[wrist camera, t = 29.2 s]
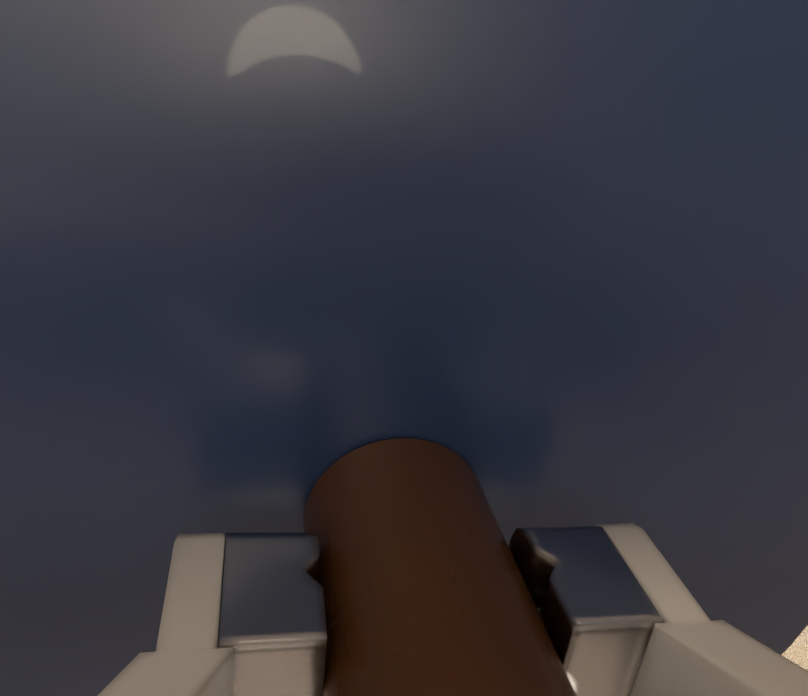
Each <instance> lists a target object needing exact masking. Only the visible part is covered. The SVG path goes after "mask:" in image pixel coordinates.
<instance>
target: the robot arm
mask: <svg viewBox="0 0 808 696" xmlns="http://www.w3.org/2000/svg"><path fill="white" fill-rule="evenodd" d="M509 549H510V551H511V553H512V555H513V557H514V560H515V562H516V564H517V566H518V568H519V571H520V573H521V575H522V577H523V579H524V582H525V584H526V586H527V588H528V590H529V593H530V595H531V597H532V599H533V601H534V604H535V606H536V608H537V610H538V612H539V615H540V617H541V619H542V621H543V623H544V625H545V628H546V630H547V632H548V634H549V636H550V639H551V641H552V643H553V645H554V647H555V650H556V652H557V654H558V656H559V658H560V661H561V663H562V665H563V667H564V669H565V672H566V674H567V676H568V678H569V680H570V683H571V685H572V687H573V689H574V691H575V694H576V696H808V671H807V670H805V669H803V668H802V667H800V666H798V665H797V664H795V663H793V662H792V661H790V660H788V659H787V658H785V657H783V656H782V655H780V654H778V653H777V652H775V651H773V650H772V649H770V648H768V647H767V646H765V645H763V644H762V643H760V642H758V641H757V640H755V639H754V638H752V637H750V636H749V635H747V634H745V633H744V632H742V631H740V630H739V629H737V628H735V627H734V626H732V625H730V624H729V623H727V622H725V621H724V620H716V621H711V620H710V619H709V617H708V616H707V615H706V613H705V612H704V611H703V609H702V608H701V607H700V605H699V604H698V603H697V601H696V600H695V599H694V597H693V596H692V595H691V593H690V592H689V590H688V589H687V588H686V586H685V585H684V584H683V582H682V581H681V580H680V578H679V577H678V576H677V574H676V573H675V572H674V570H673V569H672V568H671V566H670V565H669V563H668V562H667V561H666V559H665V558H664V557H663V555H662V554H661V553H660V551H659V550H658V549H657V547H656V546H655V545H654V543H653V542H652V541H651V539H650V538H649V536H648V535H647V534H646V532H645V531H644V530H643V529H642V528H641V527H639V526H638V525H636V524H634V523H618V524H598V525H594V526H569V527H536V528H516V530H515V531H514V533H513V535H512V537H511V539H510V543H509ZM318 566H319V548H318V539H317V535H316V533H227V535H225V534H223V533H190V534H178V536H177V538H176V540H175V542H174V547H173V553H172V559H171V565H170V570H169V576H168V582H167V588H166V594H165V600H164V605H163V611H162V617H161V623H160V629H159V635H158V640H157V646H156V652H142V653H139V654H138V655H137V656H136V657H135V658H134V659H133V660H132V661H131V662H130V663H129V664H128V665H127V666H126V667H125V668H124V669H123V670H122V671H121V672H120V673H119V674H118V675H117V676H116V677H115V678H114V679H113V680H112V681H111V682H110V683H109V684H108V685H107V686H106V687H105V688H104V689H103V690H102V691H101V692H100V693H99V694H98V695H97V696H320V695H321V693H322V692H323V686H324V673H325V661H326V648H327V632H326V621H325V609H324V598H323V587H322V586H321V585H320V584H319V583H318V582H317V580H318Z"/></svg>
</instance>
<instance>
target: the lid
mask: <svg viewBox="0 0 808 696" xmlns="http://www.w3.org/2000/svg"><path fill="white" fill-rule="evenodd" d="M618 523H634V524H636V525H638V526H639V527H641V528H642V529H643V530H644V531H645V532H646V534H647V535H648V536H649V538H650V539H651V541H652V542H653V543H654V545H655V546H656V547H657V549H658V550H659V551H660V553H661V554H662V555H663V557H664V558H665V559H666V561H667V562H668V563H669V565H670V566H671V568H672V569H673V570H674V572H675V573H676V574H677V576H678V577H679V578H680V580H681V581H682V582H683V584H684V585H685V586H686V588H687V589H688V590H689V592H690V593H691V595H692V596H693V597H694V599H695V600H696V601H697V603H698V604H699V605H700V607H701V608H702V609H703V611H704V612H705V613H706V615H707V616H708V617H709V619H710V620H711V621H716V620H724V621H725V622H727V623H729V624H730V625H732V626H734V627H735V628H737V629H739V630H740V631H742V632H744V633H745V634H747V635H749V636H750V637H752V638H754V639H755V640H757V641H758V642H760V643H762V644H763V645H765V646H767V647H768V648H770V649H772V650H773V651H775V652H777V653H778V654H780V655H782V654H783V653H784V652H785V651H786V650H787V649H788V648H789V647H790V646H791V644H792V643H793V642H794V641H795V640H796V638H797V637H798V636H799V635H800V634H801V632H802V631H803V630H804V629H805V628H806V626H807V625H808V0H0V696H97V695H98V694H99V693H100V692H101V691H102V690H103V689H104V688H105V687H106V686H107V685H108V684H109V683H110V682H111V681H112V680H113V679H114V678H115V677H116V676H117V675H118V674H119V673H120V672H121V671H122V670H123V669H124V668H125V667H126V666H127V665H128V664H129V663H130V662H131V661H132V660H133V659H134V658H135V657H136V656H137V655H138V654H139V653H142V652H156V646H157V640H158V635H159V629H160V623H161V617H162V611H163V605H164V600H165V594H166V588H167V582H168V576H169V570H170V565H171V559H172V553H173V547H174V542H175V540H176V538H177V536H178V534H190V533H223V534H225V535H227V533H316V535H317V539H318V548H319V566H318V580H317V582H318V583H319V584H320V585H321V586H322V587H323V598H324V609H325V621H326V632H327V648H326V661H325V673H324V686H323V692H322V693H321V695H320V696H576V694H575V691H574V689H573V687H572V685H571V683H570V680H569V678H568V676H567V674H566V672H565V669H564V667H563V665H562V663H561V661H560V658H559V656H558V654H557V652H556V650H555V647H554V645H553V643H552V641H551V639H550V636H549V634H548V632H547V630H546V628H545V625H544V623H543V621H542V619H541V617H540V615H539V612H538V610H537V608H536V606H535V604H534V601H533V599H532V597H531V595H530V593H529V590H528V588H527V586H526V584H525V582H524V579H523V577H522V575H521V573H520V571H519V568H518V566H517V564H516V562H515V560H514V557H513V555H512V553H511V551H510V549H509V543H510V539H511V537H512V535H513V533H514V531H515V530H516V528H536V527H569V526H594V525H598V524H618Z"/></svg>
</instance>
